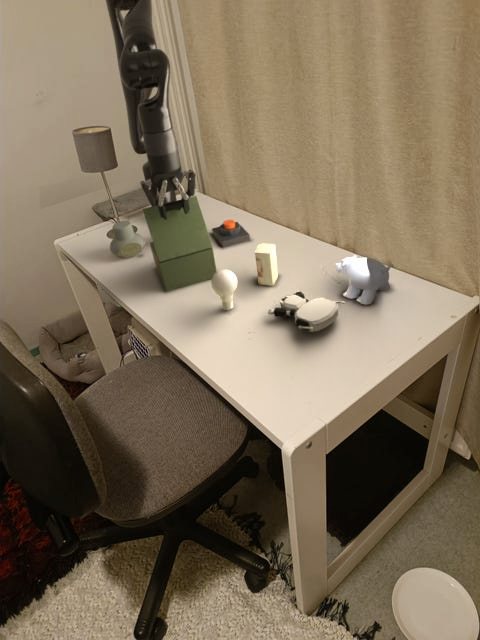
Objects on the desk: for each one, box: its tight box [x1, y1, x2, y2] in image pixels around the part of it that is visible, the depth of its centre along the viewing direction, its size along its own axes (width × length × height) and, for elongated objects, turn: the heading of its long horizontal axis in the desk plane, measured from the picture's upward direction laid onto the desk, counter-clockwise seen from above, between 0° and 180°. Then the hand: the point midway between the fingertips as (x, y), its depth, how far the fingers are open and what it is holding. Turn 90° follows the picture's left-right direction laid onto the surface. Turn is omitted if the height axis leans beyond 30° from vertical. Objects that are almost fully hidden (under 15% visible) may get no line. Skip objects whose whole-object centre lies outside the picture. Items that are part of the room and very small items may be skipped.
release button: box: [222, 219, 236, 229], centre depth 140 cm, size 4×4×2 cm
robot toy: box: [267, 290, 346, 333], centre depth 103 cm, size 12×4×15 cm
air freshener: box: [109, 220, 146, 258], centre depth 139 cm, size 11×8×10 cm
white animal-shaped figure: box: [334, 254, 394, 306], centre depth 108 cm, size 11×15×10 cm
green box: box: [149, 241, 218, 292], centre depth 125 cm, size 14×15×9 cm
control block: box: [211, 221, 251, 249], centre depth 141 cm, size 11×9×4 cm
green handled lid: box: [142, 195, 214, 262], centre depth 115 cm, size 15×15×5 cm
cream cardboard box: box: [254, 242, 279, 287], centre depth 116 cm, size 5×4×10 cm
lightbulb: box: [210, 268, 238, 311], centre depth 108 cm, size 6×6×11 cm
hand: (175, 215), depth 114 cm, fingers closed on green handled lid, 5 cm apart
